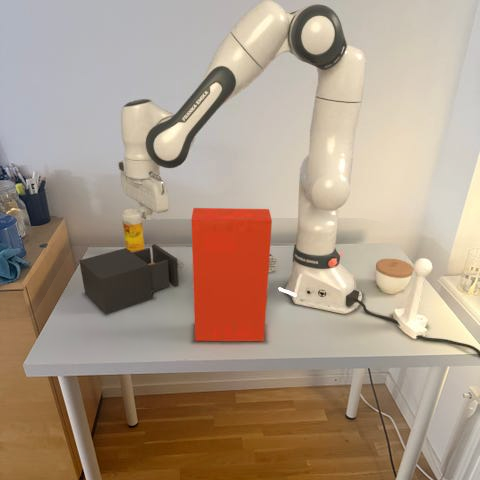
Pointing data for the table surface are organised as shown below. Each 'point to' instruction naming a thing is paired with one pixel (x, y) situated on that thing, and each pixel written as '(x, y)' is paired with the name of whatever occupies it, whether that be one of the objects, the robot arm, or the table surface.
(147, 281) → the dark grey open box
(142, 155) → the robot arm
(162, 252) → the drawer
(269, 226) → the file binder
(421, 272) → the joystick
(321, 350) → the table surface
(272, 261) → the flashlight
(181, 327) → the table surface
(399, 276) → the trinket box
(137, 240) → the vitamin bottle
